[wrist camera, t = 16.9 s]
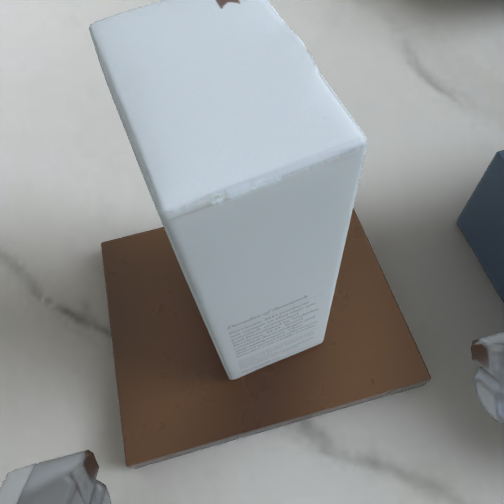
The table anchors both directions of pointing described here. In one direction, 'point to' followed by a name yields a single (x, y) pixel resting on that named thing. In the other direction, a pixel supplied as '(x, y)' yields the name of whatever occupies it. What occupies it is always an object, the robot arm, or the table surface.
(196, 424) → the coaster
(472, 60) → the table surface
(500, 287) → the holder
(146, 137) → the cosmetic box
